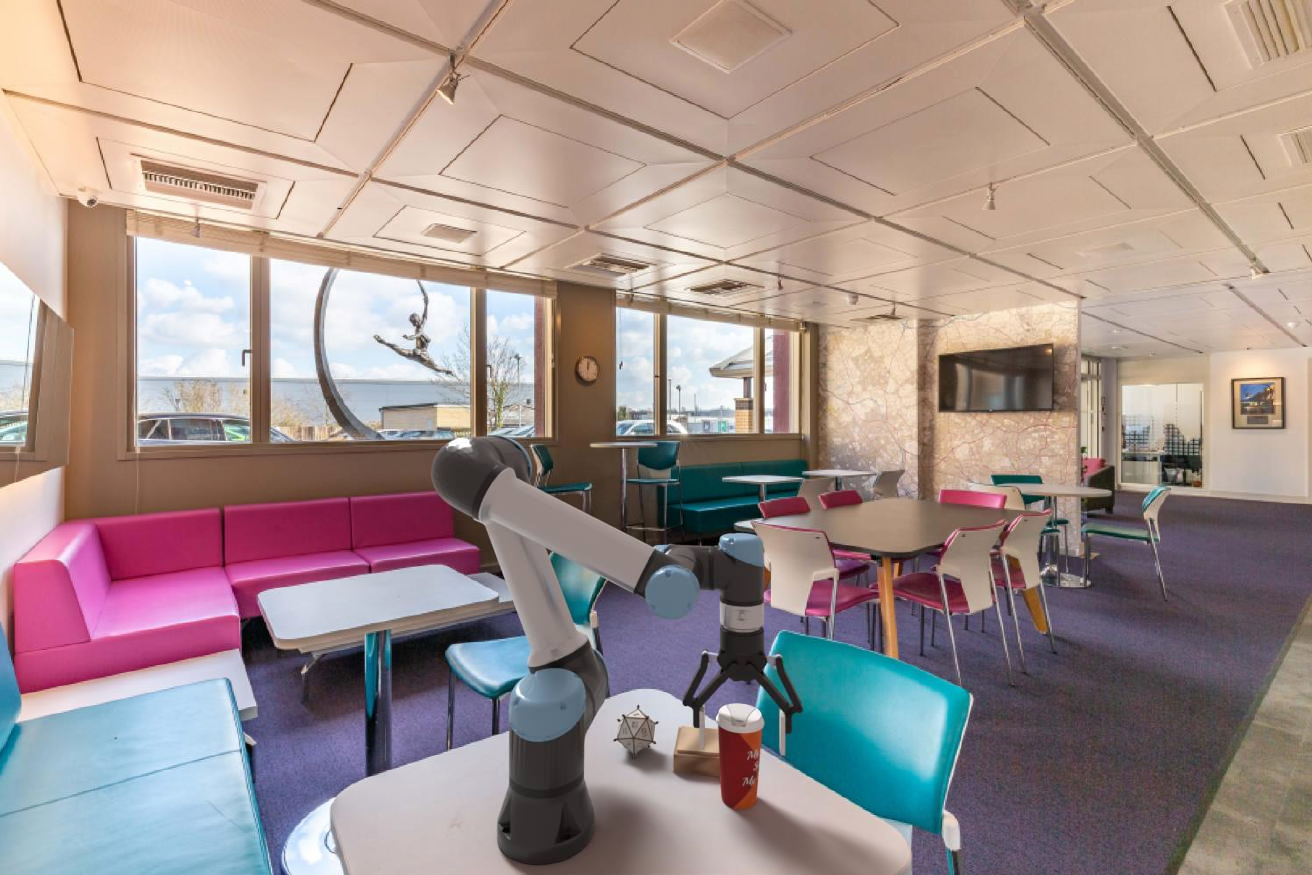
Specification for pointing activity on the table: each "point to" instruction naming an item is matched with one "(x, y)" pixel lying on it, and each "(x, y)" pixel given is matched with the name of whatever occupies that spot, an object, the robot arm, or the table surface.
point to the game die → (636, 731)
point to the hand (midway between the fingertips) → (741, 748)
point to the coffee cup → (739, 754)
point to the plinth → (696, 752)
